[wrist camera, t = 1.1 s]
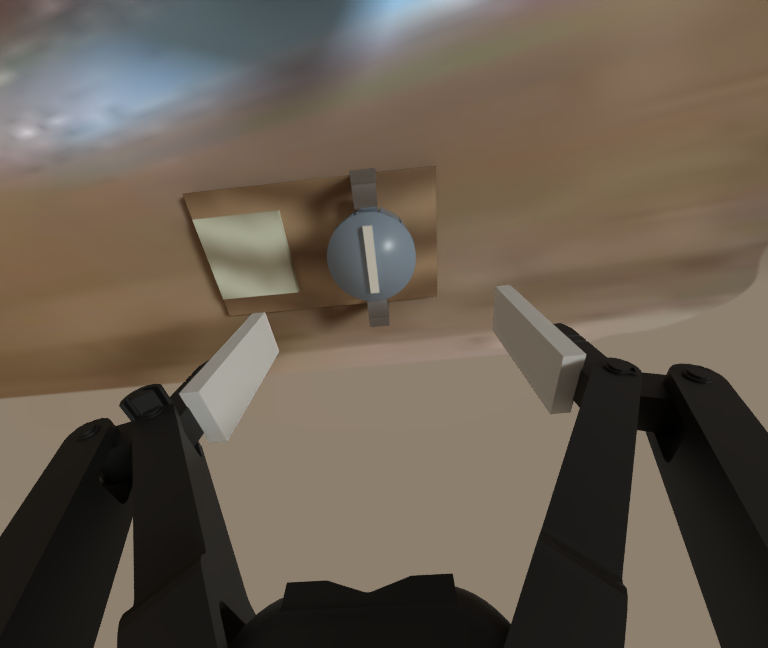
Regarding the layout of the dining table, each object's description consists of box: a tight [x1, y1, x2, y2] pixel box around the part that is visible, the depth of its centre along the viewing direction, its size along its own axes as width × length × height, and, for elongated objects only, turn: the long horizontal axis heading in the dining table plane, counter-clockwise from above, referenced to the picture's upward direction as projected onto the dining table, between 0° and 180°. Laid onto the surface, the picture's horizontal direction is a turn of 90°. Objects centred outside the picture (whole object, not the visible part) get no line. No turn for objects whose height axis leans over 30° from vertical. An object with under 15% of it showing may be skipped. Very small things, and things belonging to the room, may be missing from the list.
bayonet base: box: [183, 166, 437, 327], centre depth 29 cm, size 14×26×7 cm, turn 96°
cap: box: [327, 207, 416, 301], centre depth 27 cm, size 11×8×6 cm
